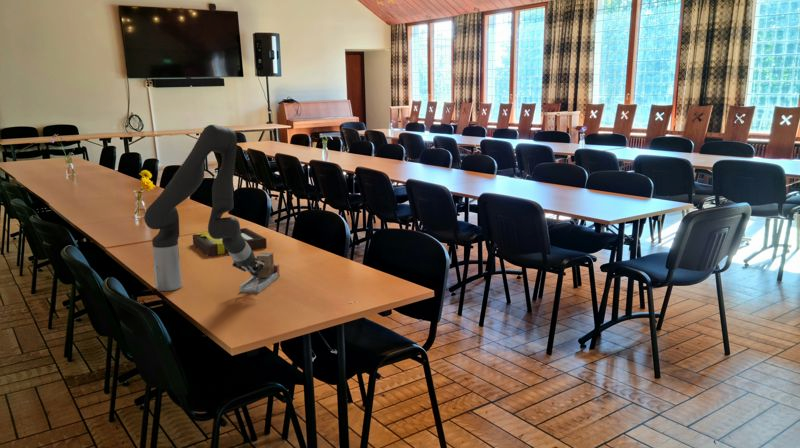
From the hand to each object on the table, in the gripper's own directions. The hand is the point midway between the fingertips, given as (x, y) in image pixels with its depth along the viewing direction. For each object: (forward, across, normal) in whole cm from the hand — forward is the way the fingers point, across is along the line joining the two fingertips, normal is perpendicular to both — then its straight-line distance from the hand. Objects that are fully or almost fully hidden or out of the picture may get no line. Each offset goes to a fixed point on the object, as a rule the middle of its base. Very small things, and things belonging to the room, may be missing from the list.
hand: (255, 274), depth 235 cm
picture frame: (+46, +39, -38) cm, 72 cm away
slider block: (+9, 0, -5) cm, 10 cm away
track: (+6, 0, +1) cm, 6 cm away
